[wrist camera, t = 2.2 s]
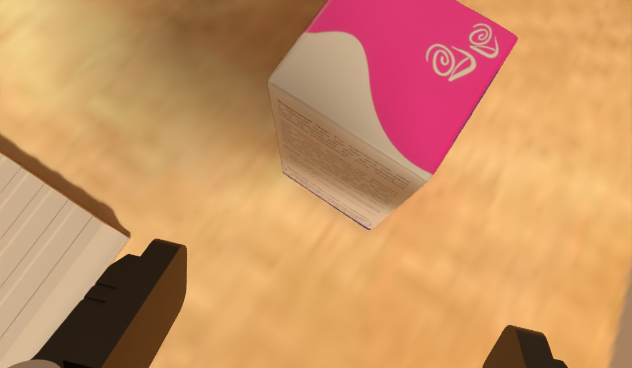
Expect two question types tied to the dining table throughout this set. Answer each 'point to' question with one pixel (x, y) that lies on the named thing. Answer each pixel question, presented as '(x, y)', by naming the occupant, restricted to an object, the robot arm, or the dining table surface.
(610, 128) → the dining table surface
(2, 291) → the baseboard
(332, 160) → the supplement box
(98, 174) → the dining table surface
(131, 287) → the robot arm
